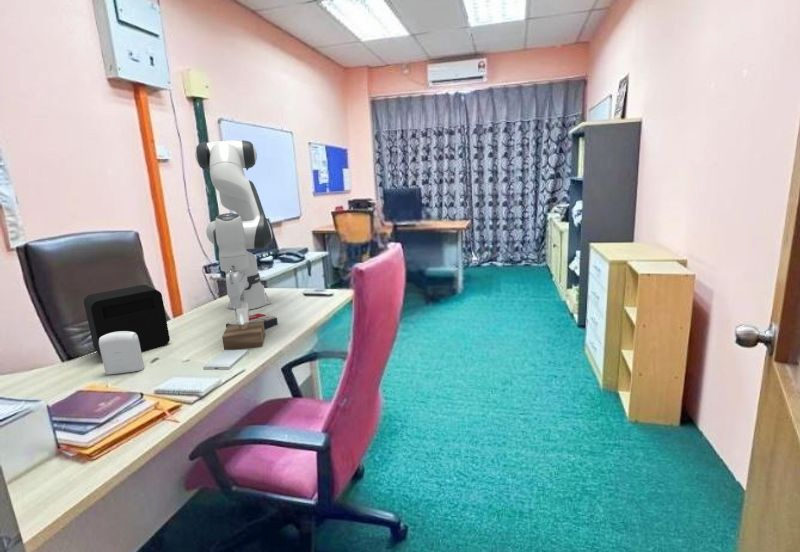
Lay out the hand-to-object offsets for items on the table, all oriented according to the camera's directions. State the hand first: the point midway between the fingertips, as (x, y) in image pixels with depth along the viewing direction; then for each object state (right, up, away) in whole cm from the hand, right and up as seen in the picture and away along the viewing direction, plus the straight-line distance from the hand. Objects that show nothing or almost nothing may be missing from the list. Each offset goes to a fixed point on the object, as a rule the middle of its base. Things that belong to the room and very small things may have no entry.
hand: (240, 304), depth 144 cm
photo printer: (-29, -19, -15) cm, 38 cm away
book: (-2, -11, +17) cm, 21 cm away
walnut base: (+1, -13, +3) cm, 14 cm away
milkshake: (0, -9, +2) cm, 9 cm away
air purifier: (-38, -15, +4) cm, 41 cm away
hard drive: (0, -17, -12) cm, 21 cm away
